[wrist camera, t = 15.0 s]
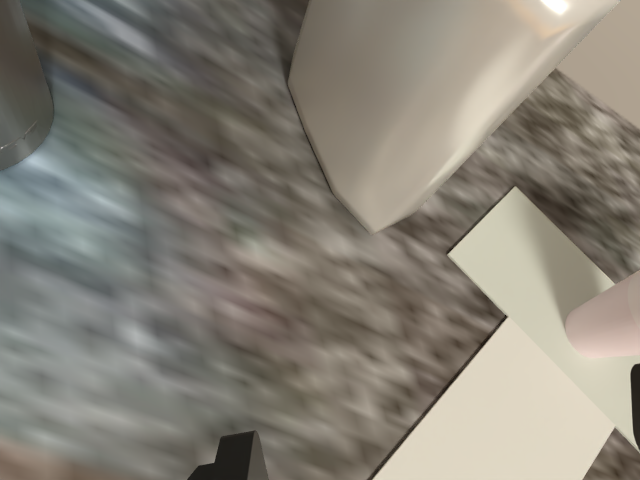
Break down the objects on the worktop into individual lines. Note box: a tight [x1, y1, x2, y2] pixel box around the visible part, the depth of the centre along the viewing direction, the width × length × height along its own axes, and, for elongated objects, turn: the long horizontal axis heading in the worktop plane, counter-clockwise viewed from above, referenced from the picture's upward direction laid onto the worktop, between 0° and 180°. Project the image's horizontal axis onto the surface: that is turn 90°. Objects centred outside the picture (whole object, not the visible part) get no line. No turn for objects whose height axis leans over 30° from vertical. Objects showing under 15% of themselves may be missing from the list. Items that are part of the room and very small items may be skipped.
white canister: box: [288, 0, 620, 235], centre depth 30 cm, size 15×14×22 cm
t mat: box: [372, 186, 640, 480], centre depth 35 cm, size 22×27×1 cm
